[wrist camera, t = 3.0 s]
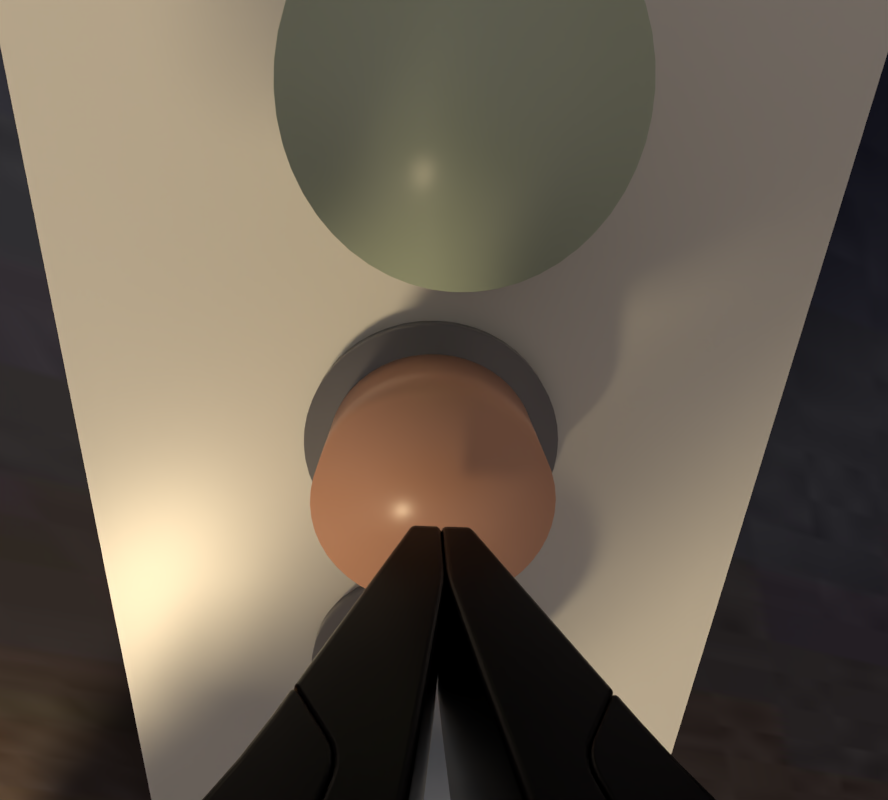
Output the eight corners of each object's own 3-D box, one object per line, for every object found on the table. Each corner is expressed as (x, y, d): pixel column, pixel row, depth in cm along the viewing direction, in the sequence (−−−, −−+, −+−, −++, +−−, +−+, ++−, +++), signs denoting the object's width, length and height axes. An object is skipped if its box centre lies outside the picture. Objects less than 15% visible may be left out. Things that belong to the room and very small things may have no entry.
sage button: (576, 272, 9) (619, 301, 7) (312, 256, 8) (281, 283, 7) (625, -47, 7) (694, -120, 5) (305, -76, 7) (263, -162, 5)
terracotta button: (521, 539, 12) (539, 608, 10) (329, 534, 12) (312, 602, 10) (546, 359, 11) (572, 401, 9) (327, 348, 10) (306, 389, 8)
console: (614, 803, 19) (639, 887, 17) (191, 801, 19) (159, 888, 16) (831, -8, 11) (938, -54, 8) (50, -76, 10) (-59, -147, 8)
